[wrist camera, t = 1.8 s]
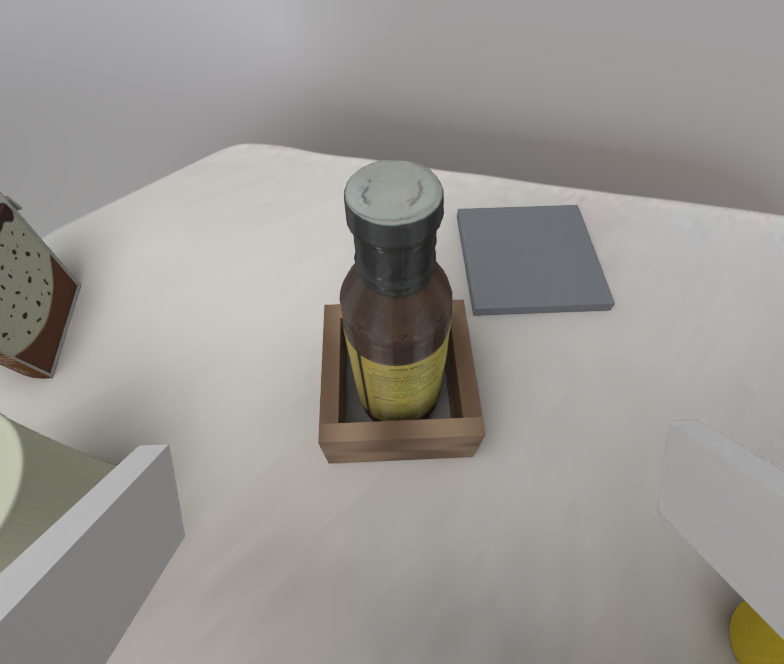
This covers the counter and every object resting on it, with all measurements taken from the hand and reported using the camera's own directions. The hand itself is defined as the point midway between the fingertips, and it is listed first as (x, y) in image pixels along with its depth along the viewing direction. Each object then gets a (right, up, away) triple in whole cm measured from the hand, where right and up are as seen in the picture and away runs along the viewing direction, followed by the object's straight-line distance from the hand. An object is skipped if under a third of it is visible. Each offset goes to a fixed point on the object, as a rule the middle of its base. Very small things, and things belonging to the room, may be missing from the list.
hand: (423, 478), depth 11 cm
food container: (-32, +4, +26) cm, 41 cm away
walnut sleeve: (0, -1, +22) cm, 22 cm away
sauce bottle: (0, -1, +23) cm, 23 cm away
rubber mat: (+12, +11, +29) cm, 34 cm away
